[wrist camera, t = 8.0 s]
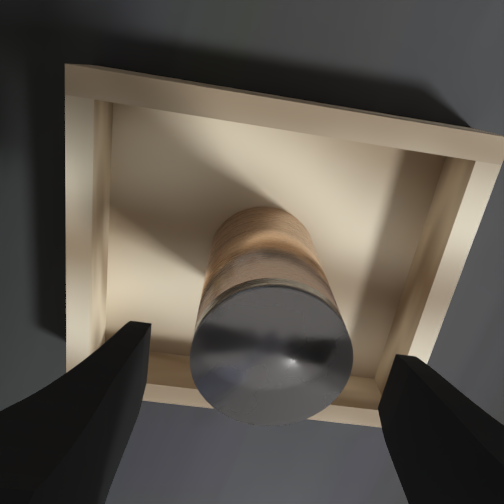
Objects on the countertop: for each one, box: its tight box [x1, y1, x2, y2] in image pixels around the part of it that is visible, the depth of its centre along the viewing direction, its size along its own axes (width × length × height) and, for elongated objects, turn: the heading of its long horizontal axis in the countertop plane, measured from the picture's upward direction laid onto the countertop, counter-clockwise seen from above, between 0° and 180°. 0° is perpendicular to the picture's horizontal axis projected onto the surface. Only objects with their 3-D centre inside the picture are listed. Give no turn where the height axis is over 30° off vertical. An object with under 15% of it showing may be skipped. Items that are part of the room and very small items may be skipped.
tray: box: [65, 64, 504, 427], centre depth 19 cm, size 14×16×3 cm
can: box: [190, 206, 353, 426], centre depth 17 cm, size 5×5×8 cm
